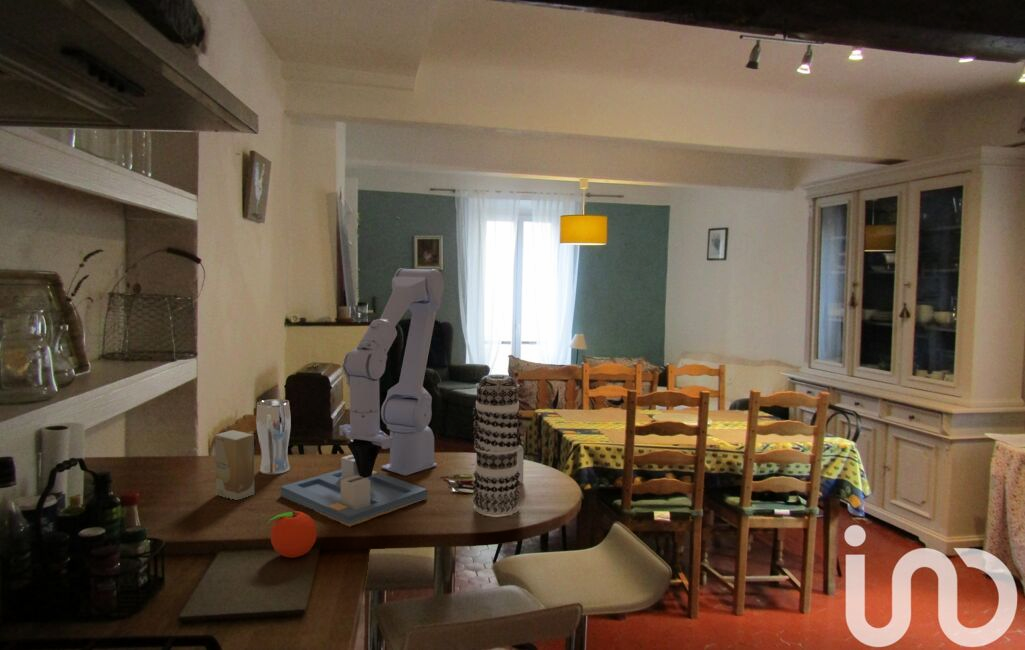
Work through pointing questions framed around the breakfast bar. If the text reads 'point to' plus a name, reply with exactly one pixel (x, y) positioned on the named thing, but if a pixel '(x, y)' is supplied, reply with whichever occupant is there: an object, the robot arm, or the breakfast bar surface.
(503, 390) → the decorative candle
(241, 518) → the breakfast bar surface
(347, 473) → the white block
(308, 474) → the breakfast bar surface
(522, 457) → the white rounded block
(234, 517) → the breakfast bar surface
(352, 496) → the white striped block
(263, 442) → the beer glass
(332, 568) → the breakfast bar surface
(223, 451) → the skincare box
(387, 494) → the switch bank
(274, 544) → the clementine
